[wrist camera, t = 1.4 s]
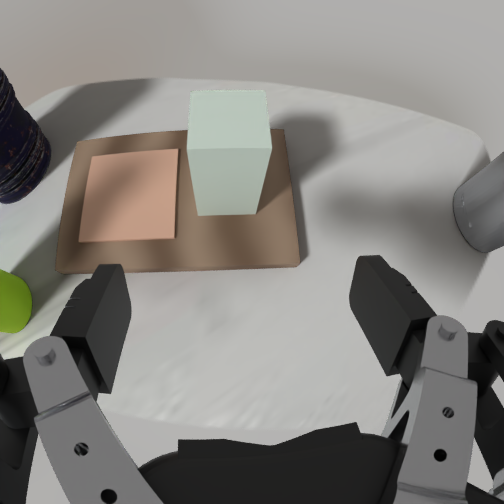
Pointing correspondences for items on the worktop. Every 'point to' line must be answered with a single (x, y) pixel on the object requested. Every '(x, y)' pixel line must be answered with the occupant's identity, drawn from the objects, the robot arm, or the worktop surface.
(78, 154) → the walnut board
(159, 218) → the terracotta pad
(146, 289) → the worktop surface
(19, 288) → the lime green stepped cylinder
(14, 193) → the dark blue ridged cylinder
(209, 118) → the pale mint tall block
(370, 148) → the worktop surface
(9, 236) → the worktop surface
